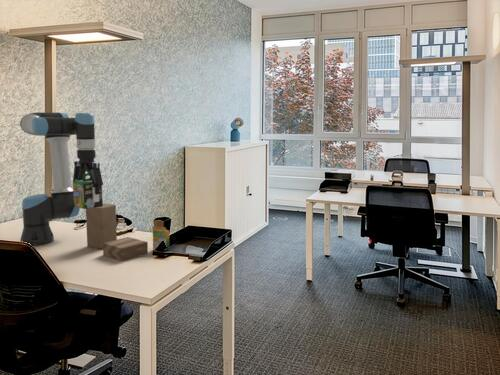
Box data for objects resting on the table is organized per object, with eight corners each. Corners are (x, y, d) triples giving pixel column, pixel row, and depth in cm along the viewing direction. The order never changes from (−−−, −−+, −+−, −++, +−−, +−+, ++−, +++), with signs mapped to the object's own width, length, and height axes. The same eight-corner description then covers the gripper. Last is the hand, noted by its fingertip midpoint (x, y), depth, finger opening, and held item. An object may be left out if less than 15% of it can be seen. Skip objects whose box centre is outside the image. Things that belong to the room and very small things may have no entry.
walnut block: (103, 255, 207) (102, 242, 206) (128, 249, 218) (128, 236, 217) (122, 261, 199) (122, 248, 198) (147, 254, 210) (147, 242, 209)
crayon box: (169, 250, 216) (169, 226, 214) (166, 251, 213) (166, 227, 212) (156, 248, 218) (155, 224, 217) (152, 250, 216) (152, 226, 214)
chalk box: (92, 204, 206) (90, 171, 204) (103, 206, 200) (102, 172, 198) (73, 206, 199) (71, 173, 197) (84, 209, 193) (82, 174, 191)
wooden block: (103, 249, 216) (101, 208, 213) (86, 246, 220) (85, 206, 217) (117, 244, 225) (116, 204, 222) (101, 242, 229) (100, 202, 226)
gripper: (62, 148, 199) (64, 199, 202) (96, 150, 187) (98, 204, 190) (76, 148, 205) (79, 197, 208) (110, 149, 193) (112, 201, 196)
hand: (88, 200), depth 199 cm, fingers closed on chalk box, 9 cm apart
